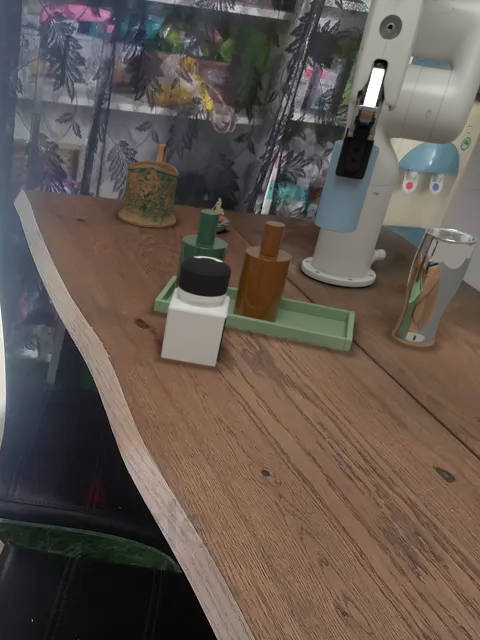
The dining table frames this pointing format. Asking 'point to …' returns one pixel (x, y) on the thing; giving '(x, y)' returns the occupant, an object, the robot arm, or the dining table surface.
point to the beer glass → (433, 283)
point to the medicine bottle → (198, 312)
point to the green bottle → (203, 241)
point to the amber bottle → (263, 276)
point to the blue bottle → (343, 195)
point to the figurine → (221, 217)
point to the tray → (287, 320)
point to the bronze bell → (150, 192)
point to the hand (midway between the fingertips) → (350, 170)
